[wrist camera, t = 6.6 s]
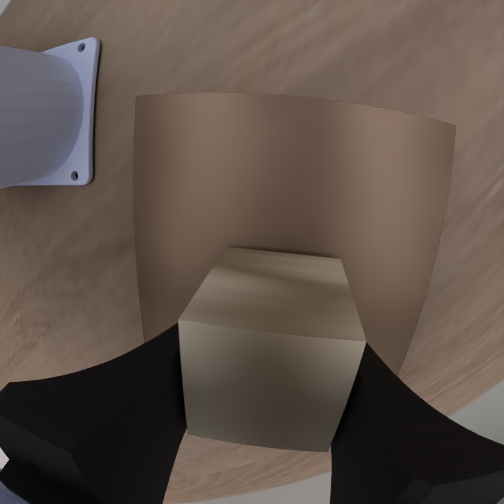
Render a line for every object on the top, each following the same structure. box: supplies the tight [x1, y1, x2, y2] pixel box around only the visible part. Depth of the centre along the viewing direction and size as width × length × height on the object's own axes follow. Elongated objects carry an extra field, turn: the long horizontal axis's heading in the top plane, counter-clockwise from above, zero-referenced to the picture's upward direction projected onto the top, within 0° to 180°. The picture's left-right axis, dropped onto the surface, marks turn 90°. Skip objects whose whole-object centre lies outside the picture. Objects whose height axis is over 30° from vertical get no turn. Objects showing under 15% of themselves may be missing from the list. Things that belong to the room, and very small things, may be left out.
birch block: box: [178, 247, 366, 452], centre depth 10 cm, size 4×4×5 cm
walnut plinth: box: [133, 93, 456, 376], centre depth 14 cm, size 12×16×3 cm
